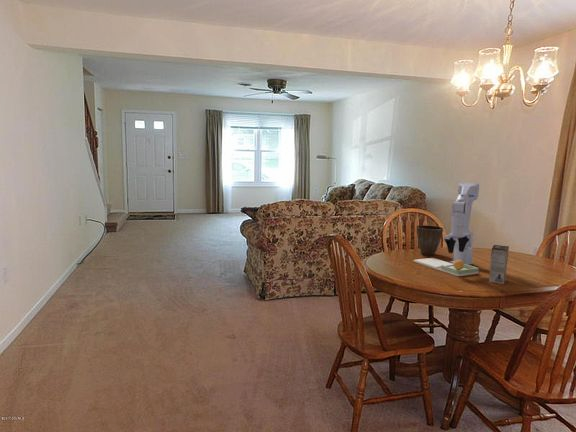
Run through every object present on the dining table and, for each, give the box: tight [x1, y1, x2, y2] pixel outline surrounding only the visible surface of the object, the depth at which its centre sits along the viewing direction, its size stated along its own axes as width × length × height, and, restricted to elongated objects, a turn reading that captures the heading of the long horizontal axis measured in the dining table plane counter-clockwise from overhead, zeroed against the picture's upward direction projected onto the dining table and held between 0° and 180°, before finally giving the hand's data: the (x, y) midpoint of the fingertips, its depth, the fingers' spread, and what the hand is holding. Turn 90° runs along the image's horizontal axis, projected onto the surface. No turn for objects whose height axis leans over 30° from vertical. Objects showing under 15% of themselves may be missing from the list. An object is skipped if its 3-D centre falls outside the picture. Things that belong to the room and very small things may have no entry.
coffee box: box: [488, 244, 510, 285], centre depth 183 cm, size 9×6×16 cm
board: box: [413, 257, 480, 277], centre depth 206 cm, size 14×30×3 cm, turn 25°
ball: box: [452, 260, 464, 270], centre depth 198 cm, size 5×5×5 cm
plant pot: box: [416, 224, 444, 256], centre depth 235 cm, size 15×15×16 cm
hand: (455, 252), depth 199 cm, fingers open, 7 cm apart
